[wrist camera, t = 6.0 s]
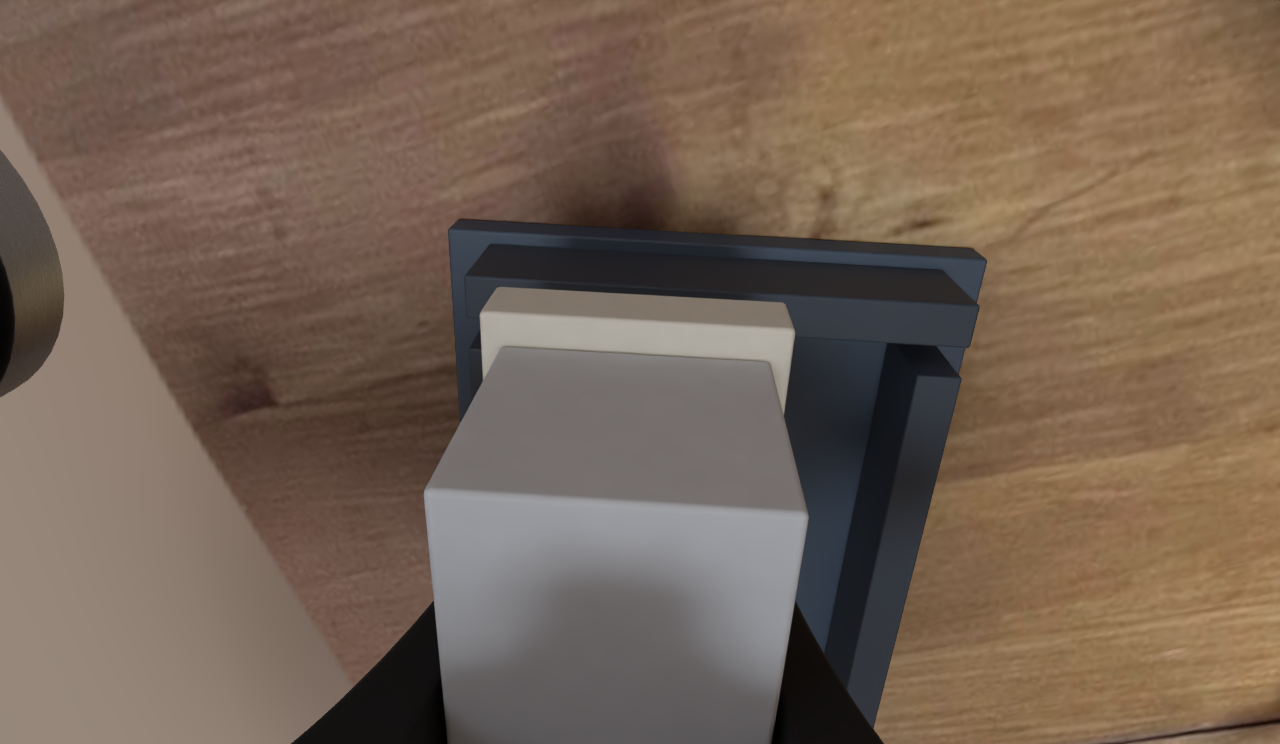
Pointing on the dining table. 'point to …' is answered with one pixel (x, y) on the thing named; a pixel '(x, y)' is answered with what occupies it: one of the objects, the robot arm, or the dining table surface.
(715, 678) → the white box
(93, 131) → the dining table surface
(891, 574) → the dark grey flat tray
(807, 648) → the robot arm
